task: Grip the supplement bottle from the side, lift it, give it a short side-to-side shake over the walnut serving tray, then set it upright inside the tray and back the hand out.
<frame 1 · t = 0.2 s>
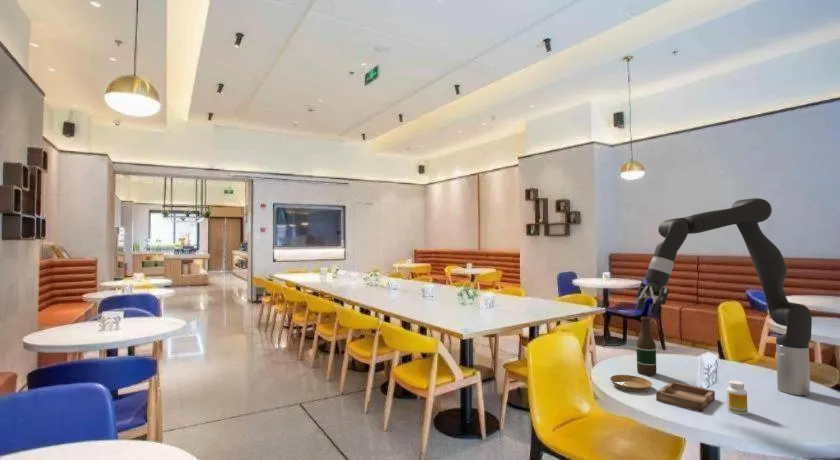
hand: (645, 312, 157), 31 cm above the table, tool tilted 20°, fingers open, 8 cm apart
plant saucer: (630, 387, 166), on the table
beer bottle: (646, 373, 182), on the table
supplement bottle: (737, 412, 142), on the table
serving tray: (685, 399, 152), on the table
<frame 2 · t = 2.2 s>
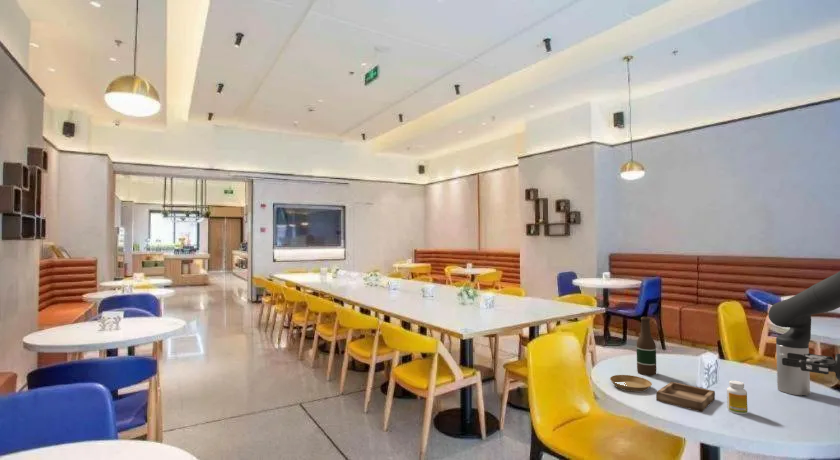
hand: (784, 358, 133), 20 cm above the table, tool horizontal, fingers open, 8 cm apart
nothing on the table moved.
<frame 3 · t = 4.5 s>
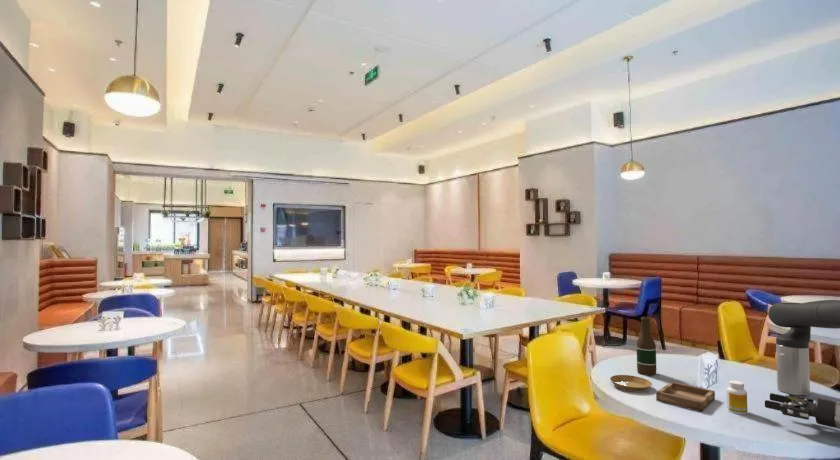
hand: (767, 399, 136), 6 cm above the table, tool horizontal, fingers open, 8 cm apart
nothing on the table moved.
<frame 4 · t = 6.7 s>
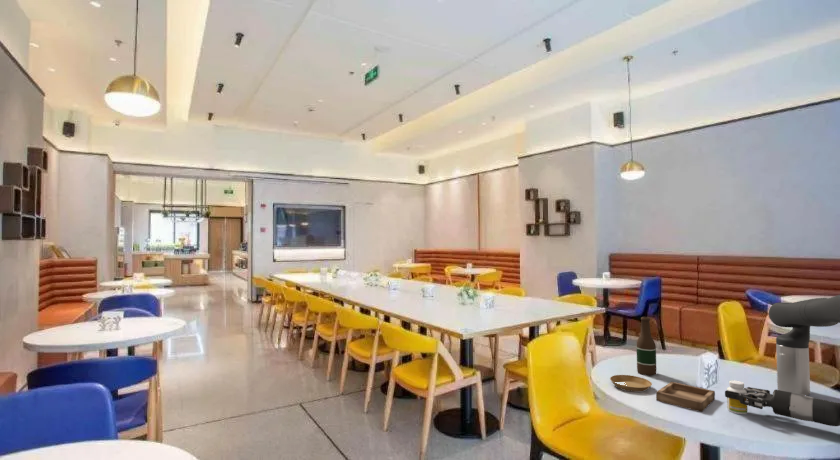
hand: (727, 391, 144), 6 cm above the table, tool horizontal, fingers closed on supplement bottle, 5 cm apart
supplement bottle: (737, 412, 142), on the table, touching gripper
everything else where it was.
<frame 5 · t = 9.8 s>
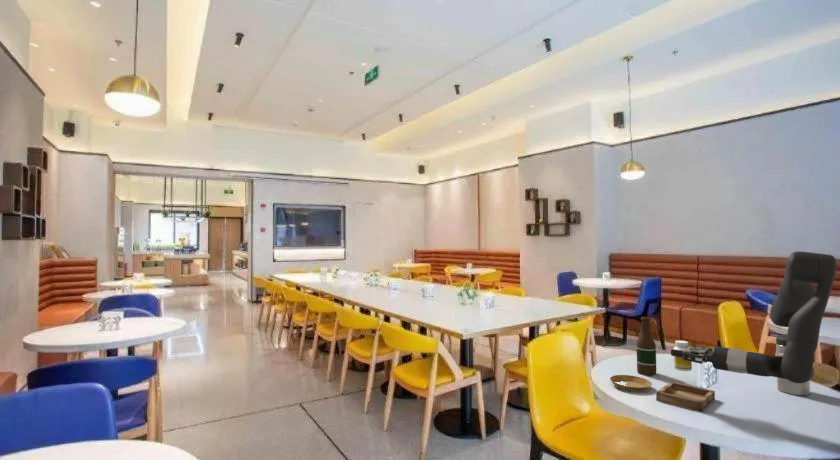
hand: (674, 350, 152), 18 cm above the table, tool horizontal, fingers closed on supplement bottle, 5 cm apart
supplement bottle: (682, 369, 150), point 11 cm above the table, touching gripper
everything else where it was.
when the fingers open (8 cm above the table, at t = 13.2 s): supplement bottle drops 1 cm, resting on serving tray.
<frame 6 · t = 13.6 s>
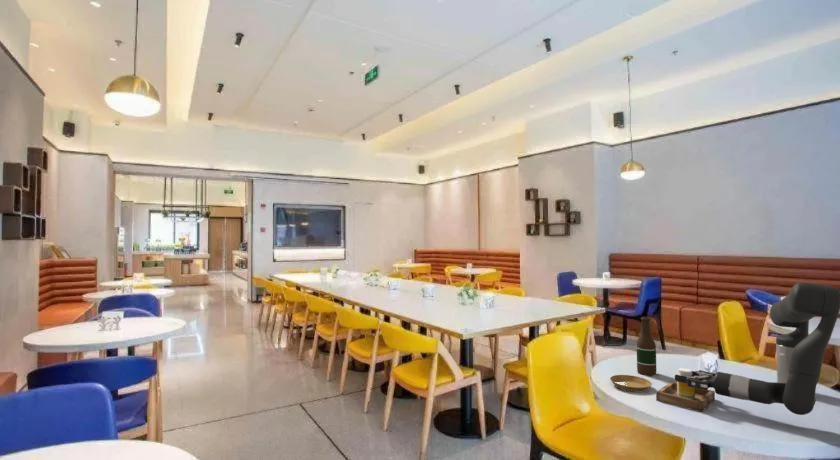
hand: (679, 374, 154), 8 cm above the table, tool horizontal, fingers open, 8 cm apart
supplement bottle: (686, 397, 152), point 1 cm above the table, touching serving tray
everything else where it was.
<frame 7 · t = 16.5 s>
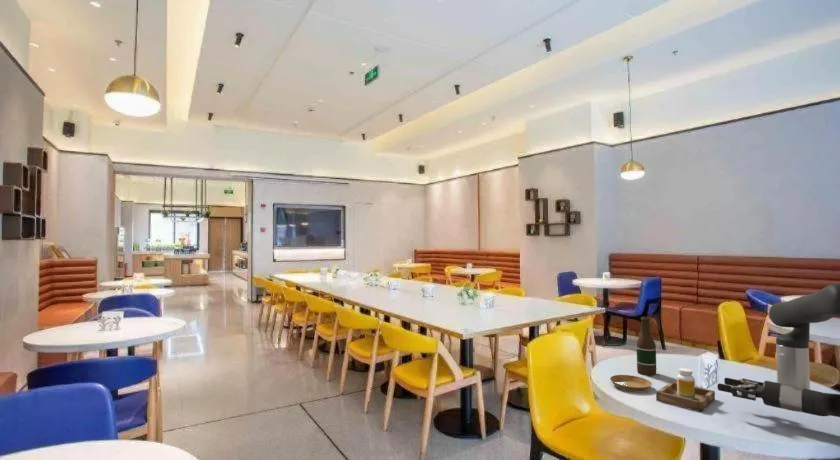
hand: (721, 383, 144), 8 cm above the table, tool horizontal, fingers open, 8 cm apart
nothing on the table moved.
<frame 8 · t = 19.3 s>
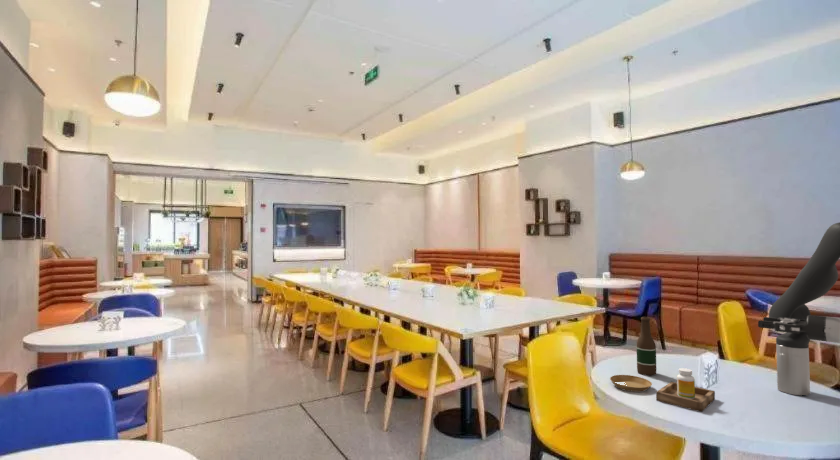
hand: (761, 321, 141), 30 cm above the table, tool horizontal, fingers open, 8 cm apart
nothing on the table moved.
at the end: supplement bottle inside the target area on the serving tray (0.2 cm from its centre), point 0.8 cm above the serving tray's base; supplement bottle tilted 0°; the gripper is holding nothing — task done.
